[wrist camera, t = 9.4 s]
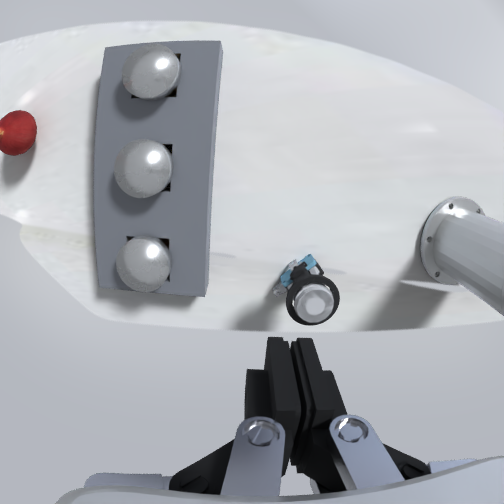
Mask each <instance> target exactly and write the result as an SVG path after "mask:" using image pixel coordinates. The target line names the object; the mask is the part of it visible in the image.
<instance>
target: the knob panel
mask: <svg viewBox="0 0 504 504" xmlns="http://www.w3.org/2000/svg"><path fill="white" fill-rule="evenodd" d="M149 44H160V45H164V46H166V47H168V48H169V49H171V50H172V51H173V53H174V54H175V55H176V57H177V58H178V60H179V61H180V64H181V68H182V74H181V78H180V81H179V83H178V85H177V95H176V97H163V98H161V99H158V100H152V101H151V100H144V99H141V98H139V97H137V96H135V95H133V94H131V93H130V92H129V91H128V90H127V89H126V88H125V86H124V84H123V81H122V69H123V66H124V63H125V61H126V60H127V58H128V57H129V56H130V55H131V54H132V53H133V52H134V51H135V50H137V49H138V48H140V47H142V46H145V45H149ZM222 58H223V50H222V45H221V41H169V42H153V43H140V44H130V45H121V46H114V47H106V48H105V52H104V58H103V64H102V72H101V79H100V87H99V96H98V106H97V118H96V132H95V151H94V225H95V245H96V259H97V271H98V281H99V287H102V288H112V289H121V290H131V291H136V290H133V289H131V288H130V287H128V286H127V285H126V284H125V283H124V282H123V281H122V279H121V278H120V276H119V274H118V271H117V267H116V259H117V255H118V252H119V250H120V249H121V248H122V246H123V245H125V244H126V243H127V242H128V241H129V240H131V239H132V238H134V237H136V236H139V235H151V236H154V237H156V238H168V239H169V251H170V253H171V257H172V268H171V271H170V273H169V275H168V277H167V279H166V280H165V282H164V283H163V285H162V286H161V287H159V288H158V289H156V290H154V291H151V292H152V293H163V294H175V295H187V296H200V297H205V294H206V290H207V287H208V280H209V249H210V225H211V204H212V186H213V169H214V153H215V139H216V126H217V113H218V101H219V89H220V78H221V68H222ZM139 139H147V140H154V141H157V142H159V143H161V144H163V145H173V147H172V157H173V161H174V173H173V176H172V179H171V188H165V189H163V190H162V191H161V192H159V193H157V194H155V195H153V196H150V197H147V198H135V197H132V196H130V195H128V194H126V193H125V192H124V191H123V190H122V189H121V188H120V187H119V185H118V183H117V181H116V178H115V174H114V165H115V161H116V158H117V156H118V154H119V152H120V151H121V149H122V148H123V147H124V146H125V145H127V144H128V143H130V142H132V141H135V140H139Z"/></svg>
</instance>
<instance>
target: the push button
mask: <svg viewBox="0 0 504 504" xmlns="http://www.w3.org/2000/svg"><path fill="white" fill-rule="evenodd" d="M293 262H294V263H293ZM292 263H293V264H292ZM291 264H292V265H291ZM289 268H290V269H289V270H288V271H286V272H285V273H284V274H283V275H281V276H280V279H281V282H279V284H278V285H277V286H276V287H274V288H273V291H274V292H273V293H274V294H275V296H276V297H277V296H279V295H280V294H281V293H283V292H286V291H287V290H288V294H287V297H286V307H287V310H288V313H289V315H290V316H291V318H292V319H293V320H295V321H296V322H298V323H300V324H303V325H318V324H321V323H323V322H325V321H327V320H328V319H329V318H331V317H332V316H333V314H334V313H335V312H336V310H337V308H338V305H339V301H340V296H339V291H338V289H337V287H336V285H335V284H334V283H333V282H332V281H331V280H330V279H328V278H326V277H324V276H323V274H324V272H323V270H322V269H321V267H320V266H319V264H318V263H317V262H316V260H315V259H314V258H313V257H312V255H311V254H309V255H307V256H306V257H305V258H304V259H302V260H301V261H300V262H298V263H297V261H296V259H295V260H293V261H292V262H291V263H289ZM324 284H325V285H327V286H328V287H329V288H330V290H329V289H328V288H327V287H326V286H325V285H324ZM276 288H278V289H276ZM279 291H280V293H279V294H277V293H278V292H279ZM293 300H294V306H293V305H292V302H293Z"/></svg>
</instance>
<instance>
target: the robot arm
mask: <svg viewBox="0 0 504 504" xmlns="http://www.w3.org/2000/svg"><path fill="white" fill-rule="evenodd" d="M421 258H422V262H423V265H424V267H425V269H426V271H427V272H428V274H429V275H430V276H431V277H432V278H434V279H435V280H436V281H438V282H440V283H442V284H446V285H453V284H457V283H460V284H461V285H462V286H464V287H465V288H467V289H468V290H469V291H471V292H472V293H474V294H475V295H476V296H478V297H479V298H480V299H482V300H483V301H485V302H486V303H487V304H489V305H490V306H491V307H493V308H494V309H495V310H497V311H498V312H499V313H500V314H502V315H503V316H504V223H503V222H501V221H498V220H495V219H492V218H490V217H487V216H485V213H484V212H483V210H482V208H481V207H480V206H479V205H478V204H477V203H476V202H474V201H473V200H471V199H468V198H464V197H453V198H449V199H447V200H445V201H444V202H442V203H441V204H440V205H438V206H437V207H436V208H435V209H434V211H433V212H432V213H431V215H430V216H429V218H428V220H427V222H426V224H425V227H424V230H423V233H422V238H421ZM289 458H290V462H291V465H292V466H295V465H296V468H297V473H304V474H305V475H306V476H308V477H310V485H311V488H312V490H313V493H314V494H313V495H298V496H279V493H280V484H281V477H282V476H284V475H285V472H286V469H287V466H288V462H289ZM55 504H504V456H497V457H490V458H485V459H481V460H476V459H463V460H450V461H436V462H429V463H428V464H427V465H426V464H425V463H423V462H422V461H420V460H418V459H416V458H413V457H411V456H409V455H407V454H404V453H402V452H400V451H398V450H396V449H393V448H391V447H389V446H387V445H385V444H383V443H382V442H381V440H380V439H379V437H378V436H377V434H376V433H375V431H374V429H373V427H372V426H371V425H370V423H369V422H368V421H366V420H365V419H363V418H361V417H359V416H355V415H347V412H346V409H345V406H344V403H343V400H342V398H341V395H340V392H339V389H338V386H337V384H336V381H335V378H334V375H333V373H332V371H330V370H329V371H323V370H322V367H321V364H320V361H319V358H318V355H317V352H316V349H315V346H314V343H313V340H312V338H297V340H296V341H292V343H291V347H290V348H289V343H288V341H283V338H282V337H268V340H267V349H266V358H265V365H264V370H255V369H247V374H246V386H245V420H244V421H243V422H242V423H241V424H240V425H239V427H238V429H237V432H236V436H235V439H234V440H232V441H231V442H229V443H227V444H226V445H224V446H222V447H221V448H219V449H217V450H216V451H214V452H213V453H211V454H209V455H208V456H206V457H204V458H202V459H201V460H199V461H197V462H195V463H194V464H192V465H190V466H188V467H187V468H185V469H183V470H181V471H179V472H178V473H176V474H175V475H174V476H165V477H162V475H161V474H119V473H96V474H94V475H92V476H90V477H89V478H88V479H87V480H86V482H85V485H84V488H79V489H76V490H73V491H70V492H68V493H66V494H65V495H63V496H62V497H61V498H60V499H59V500H58V501H57V502H56V503H55Z"/></svg>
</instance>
